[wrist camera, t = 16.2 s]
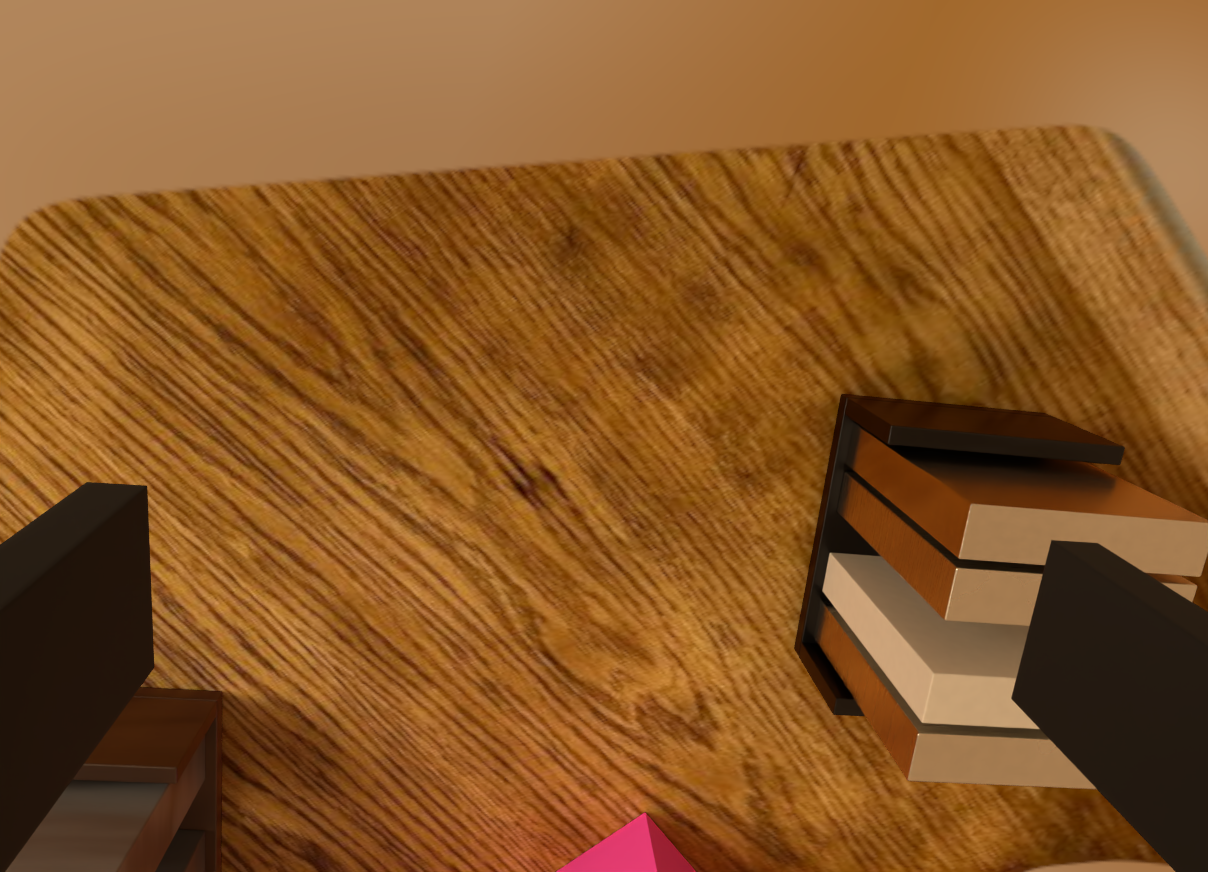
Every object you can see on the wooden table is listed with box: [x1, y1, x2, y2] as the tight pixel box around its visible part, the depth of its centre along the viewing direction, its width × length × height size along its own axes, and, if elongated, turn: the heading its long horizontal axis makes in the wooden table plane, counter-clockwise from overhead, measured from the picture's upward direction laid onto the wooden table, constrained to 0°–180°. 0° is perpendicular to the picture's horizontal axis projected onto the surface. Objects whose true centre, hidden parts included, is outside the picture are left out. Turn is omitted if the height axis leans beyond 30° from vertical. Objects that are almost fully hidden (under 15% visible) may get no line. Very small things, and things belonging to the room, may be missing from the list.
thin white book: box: [822, 553, 1039, 729], centre depth 37 cm, size 2×9×11 cm, turn 83°
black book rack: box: [794, 394, 1208, 789], centre depth 37 cm, size 13×10×12 cm
